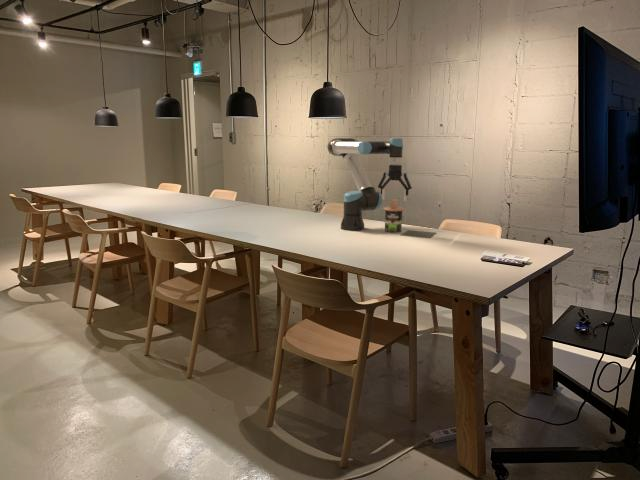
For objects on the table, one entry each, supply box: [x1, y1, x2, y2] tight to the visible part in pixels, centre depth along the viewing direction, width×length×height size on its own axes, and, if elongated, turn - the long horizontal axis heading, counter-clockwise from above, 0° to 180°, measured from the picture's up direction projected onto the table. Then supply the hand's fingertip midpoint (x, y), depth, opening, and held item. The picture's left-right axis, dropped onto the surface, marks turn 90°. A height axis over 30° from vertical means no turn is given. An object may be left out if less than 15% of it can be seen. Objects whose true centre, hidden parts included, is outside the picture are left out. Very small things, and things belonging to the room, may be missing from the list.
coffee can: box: [384, 210, 403, 234], centre depth 289 cm, size 10×10×14 cm
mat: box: [400, 229, 437, 239], centre depth 284 cm, size 18×18×1 cm
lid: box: [382, 198, 406, 212], centre depth 287 cm, size 13×13×6 cm
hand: (394, 200), depth 286 cm, fingers open, 13 cm apart
